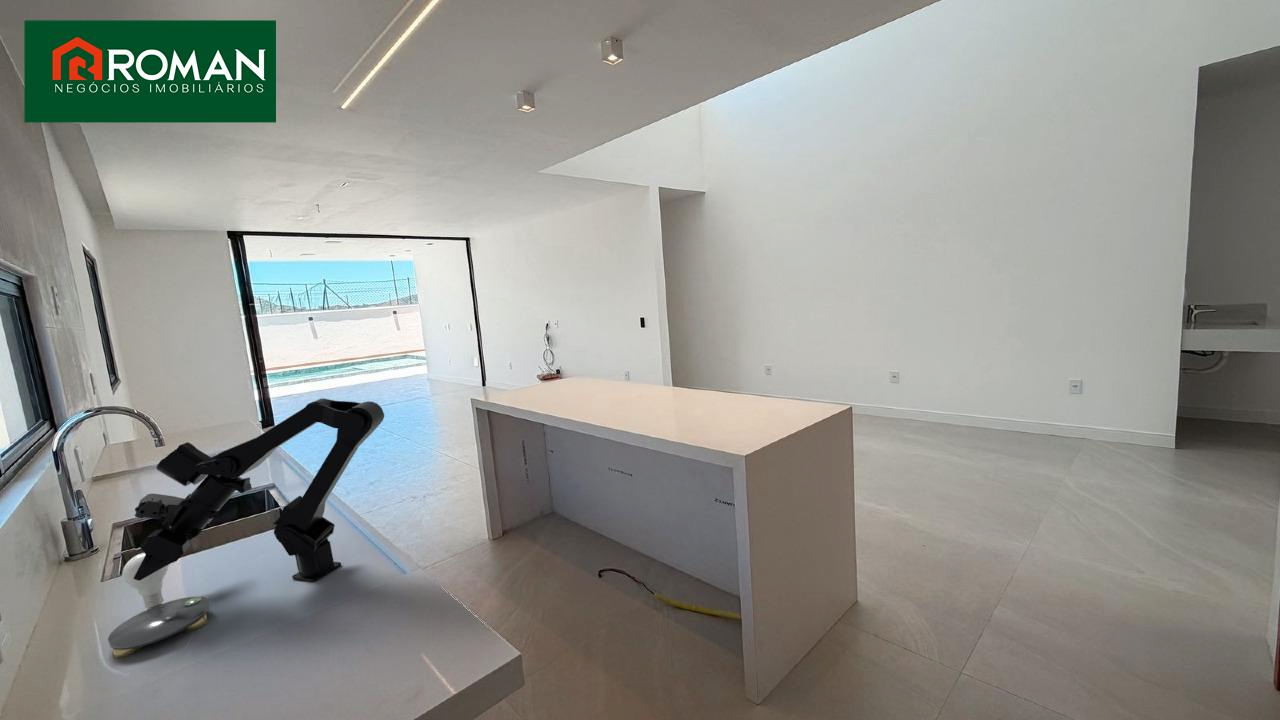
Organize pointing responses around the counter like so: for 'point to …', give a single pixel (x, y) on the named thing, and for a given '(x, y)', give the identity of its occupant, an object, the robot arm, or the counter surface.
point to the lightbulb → (145, 581)
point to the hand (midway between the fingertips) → (147, 568)
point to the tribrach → (158, 624)
